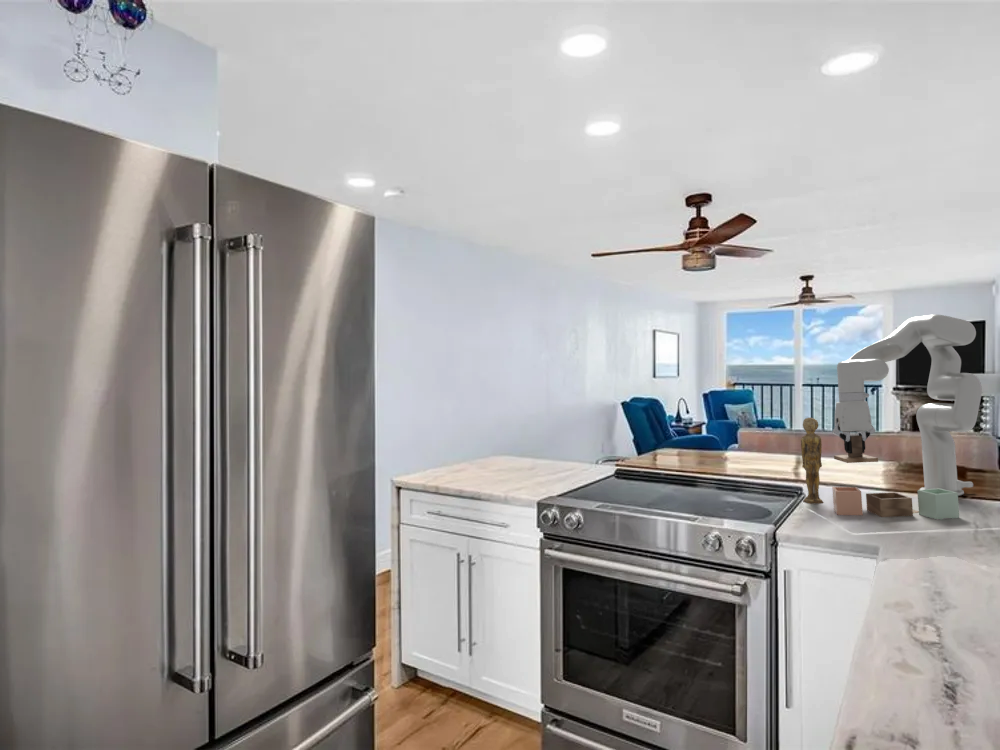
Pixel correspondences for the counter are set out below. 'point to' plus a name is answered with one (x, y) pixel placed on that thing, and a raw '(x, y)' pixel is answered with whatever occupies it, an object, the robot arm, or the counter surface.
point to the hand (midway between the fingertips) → (855, 452)
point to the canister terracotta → (847, 501)
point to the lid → (856, 452)
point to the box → (889, 504)
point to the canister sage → (938, 503)
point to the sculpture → (811, 459)
